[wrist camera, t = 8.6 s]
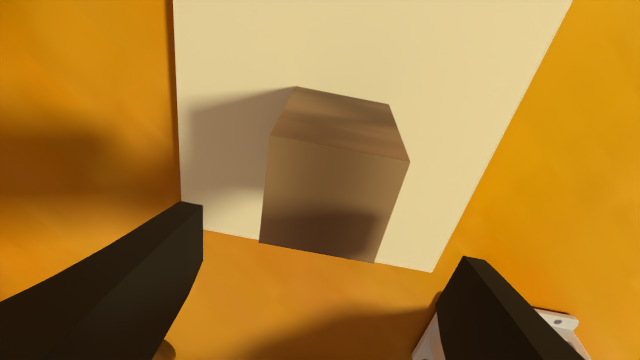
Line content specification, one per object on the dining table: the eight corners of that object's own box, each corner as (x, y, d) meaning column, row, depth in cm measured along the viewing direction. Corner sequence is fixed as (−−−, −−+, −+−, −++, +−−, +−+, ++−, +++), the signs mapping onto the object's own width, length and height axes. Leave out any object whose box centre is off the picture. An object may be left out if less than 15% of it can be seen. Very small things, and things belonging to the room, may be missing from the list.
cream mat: (568, -15, 13) (580, -15, 12) (428, 263, 21) (431, 272, 21) (178, -103, 13) (168, -108, 12) (187, 217, 21) (182, 225, 20)
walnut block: (388, 104, 15) (410, 161, 10) (365, 183, 18) (373, 263, 12) (295, 85, 15) (269, 135, 10) (284, 168, 18) (258, 242, 12)
